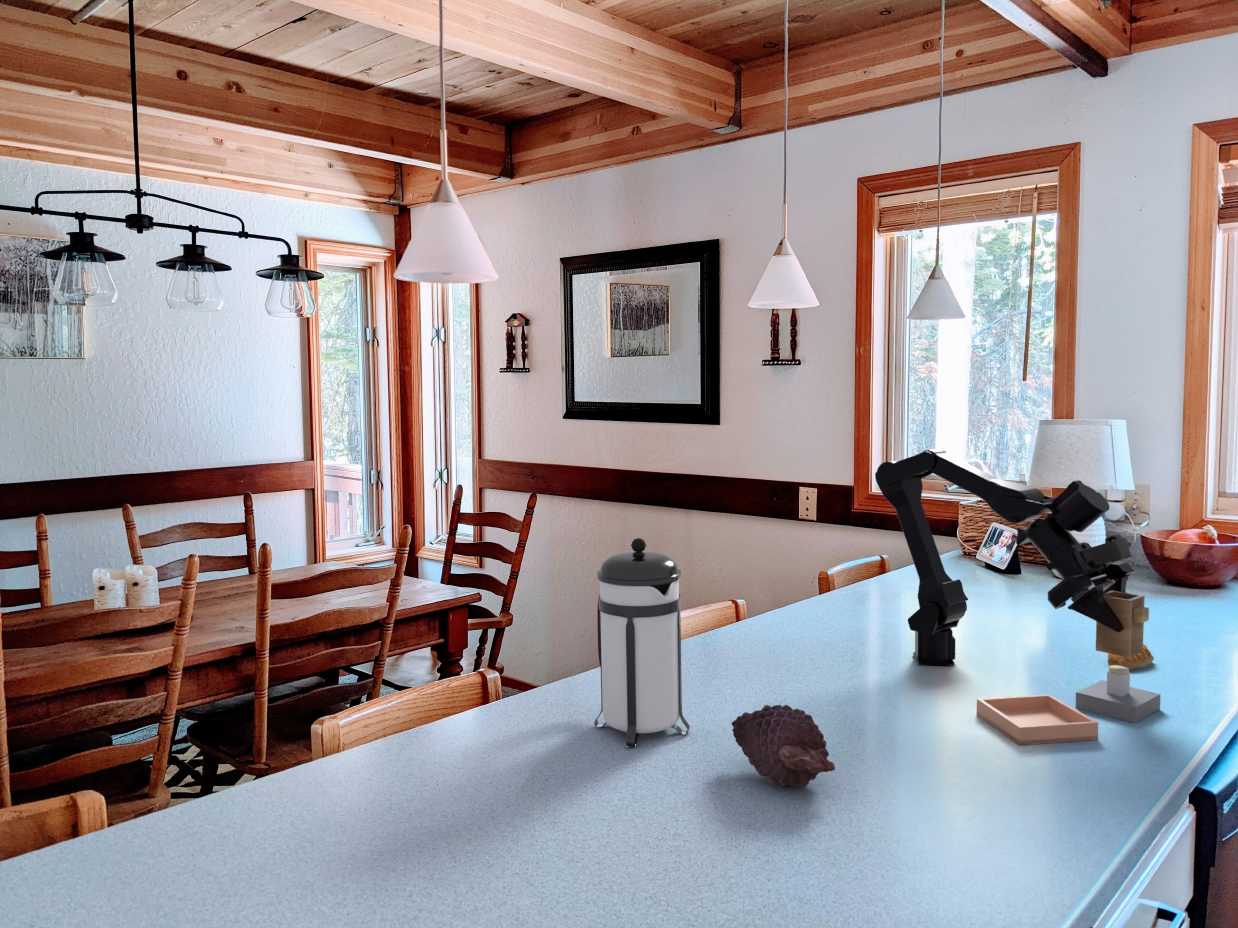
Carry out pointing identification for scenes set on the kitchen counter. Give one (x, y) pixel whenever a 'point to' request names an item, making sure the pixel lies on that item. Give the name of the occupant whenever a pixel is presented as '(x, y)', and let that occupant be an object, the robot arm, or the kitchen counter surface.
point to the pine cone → (783, 744)
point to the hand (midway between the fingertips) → (1129, 627)
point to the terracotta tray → (1037, 719)
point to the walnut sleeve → (1131, 618)
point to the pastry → (1132, 660)
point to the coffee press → (640, 642)
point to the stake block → (1118, 697)
